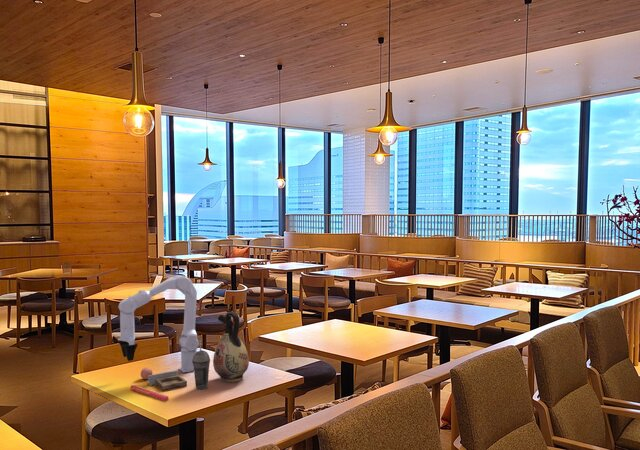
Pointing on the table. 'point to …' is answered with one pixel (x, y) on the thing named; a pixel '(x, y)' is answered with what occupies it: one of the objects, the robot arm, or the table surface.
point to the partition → (160, 377)
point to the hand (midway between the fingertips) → (128, 358)
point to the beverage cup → (201, 368)
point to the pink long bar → (149, 392)
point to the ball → (146, 373)
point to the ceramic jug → (230, 351)
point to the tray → (171, 383)
